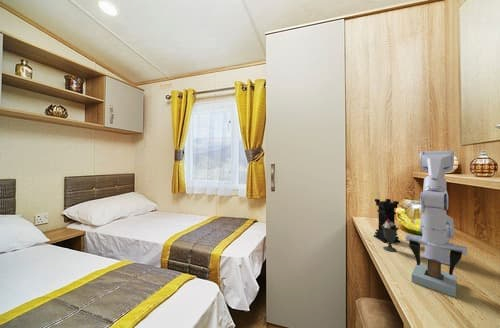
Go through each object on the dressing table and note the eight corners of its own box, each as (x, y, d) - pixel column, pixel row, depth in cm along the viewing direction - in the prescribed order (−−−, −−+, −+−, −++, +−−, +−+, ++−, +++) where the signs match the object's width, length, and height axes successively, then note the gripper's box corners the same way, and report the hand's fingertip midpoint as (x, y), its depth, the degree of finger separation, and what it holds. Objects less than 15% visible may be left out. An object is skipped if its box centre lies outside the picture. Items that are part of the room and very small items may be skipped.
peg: (427, 278, 66) (427, 257, 66) (440, 281, 64) (440, 260, 64) (427, 282, 63) (427, 261, 63) (441, 286, 61) (441, 264, 61)
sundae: (381, 244, 92) (381, 213, 92) (399, 248, 88) (399, 215, 88) (380, 249, 87) (379, 216, 87) (398, 254, 83) (398, 219, 83)
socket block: (416, 270, 71) (416, 263, 71) (456, 282, 63) (456, 275, 63) (411, 281, 64) (411, 274, 64) (455, 297, 56) (455, 289, 56)
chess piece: (400, 242, 94) (400, 201, 94) (383, 242, 94) (383, 202, 94) (388, 236, 102) (388, 198, 102) (373, 236, 102) (373, 198, 102)
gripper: (403, 225, 66) (403, 264, 66) (467, 237, 55) (467, 284, 55) (407, 220, 71) (407, 257, 71) (467, 231, 60) (467, 274, 60)
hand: (434, 268), depth 63 cm, fingers open, 7 cm apart
